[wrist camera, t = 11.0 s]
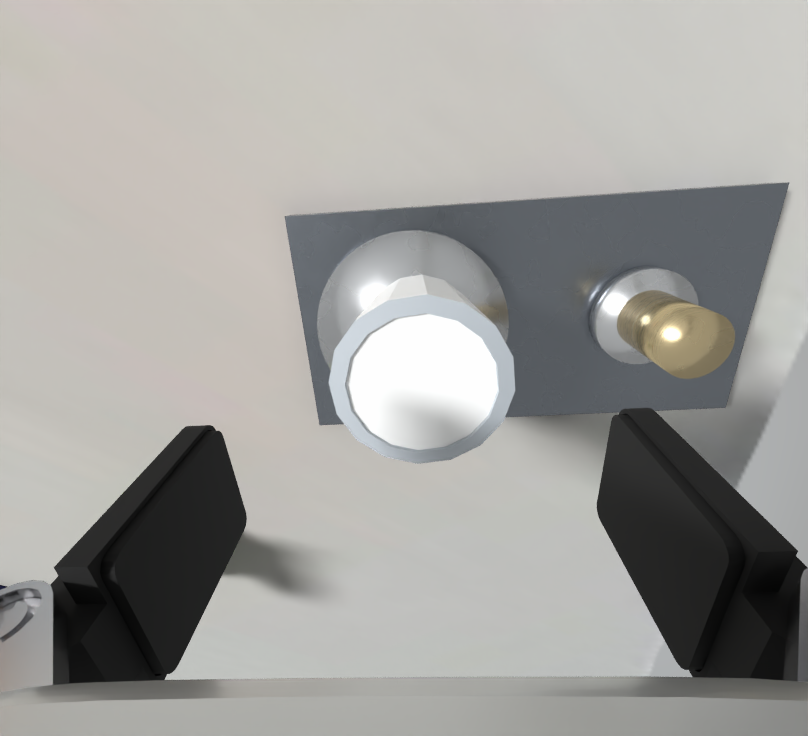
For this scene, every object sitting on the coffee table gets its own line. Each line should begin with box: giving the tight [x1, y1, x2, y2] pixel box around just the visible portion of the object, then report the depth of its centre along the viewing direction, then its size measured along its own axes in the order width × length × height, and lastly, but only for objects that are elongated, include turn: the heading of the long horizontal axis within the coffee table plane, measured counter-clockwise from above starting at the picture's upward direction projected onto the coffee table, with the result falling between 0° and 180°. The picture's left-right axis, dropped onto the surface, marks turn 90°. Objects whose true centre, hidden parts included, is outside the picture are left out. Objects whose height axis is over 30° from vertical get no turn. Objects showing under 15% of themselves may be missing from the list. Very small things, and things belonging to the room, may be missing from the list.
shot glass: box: [329, 275, 515, 464], centre depth 18 cm, size 7×7×7 cm
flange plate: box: [285, 183, 789, 425], centre depth 20 cm, size 12×24×6 cm, turn 94°
